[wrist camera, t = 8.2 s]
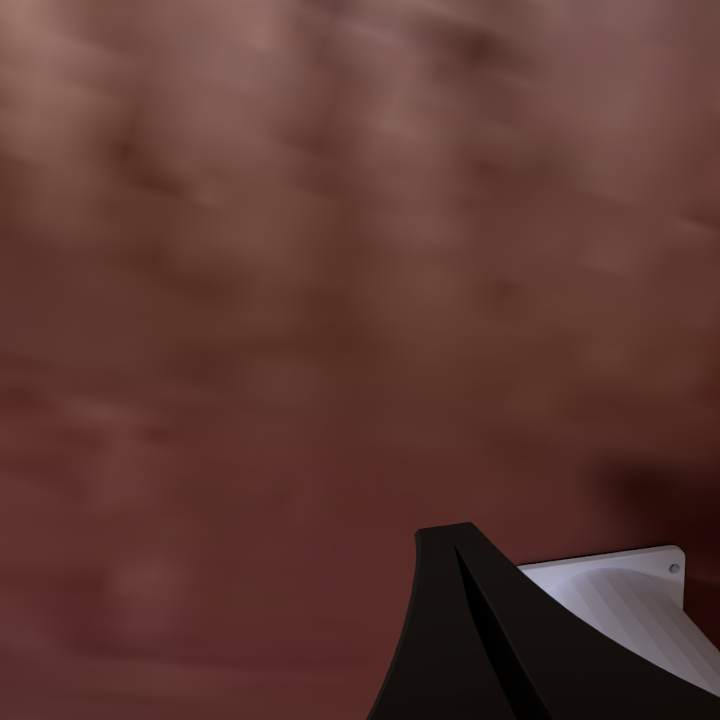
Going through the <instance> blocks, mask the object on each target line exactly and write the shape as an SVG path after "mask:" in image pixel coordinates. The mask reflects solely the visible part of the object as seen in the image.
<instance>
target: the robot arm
mask: <svg viewBox="0 0 720 720" xmlns="http://www.w3.org/2000/svg"><path fill="white" fill-rule="evenodd" d="M414 535H415V544H416V567H415V574H414V580H413V587H412V593H411V598H410V602H409V606H408V610H407V614H406V618H405V622H404V626H403V629H402V633H401V636H400V639H399V642H398V645H397V648H396V651H395V654H394V657H393V660H392V662H391V665H390V667H389V670H388V672H387V675H386V677H385V680H384V682H383V685H382V687H381V690H380V692H379V694H378V696H377V699H376V701H375V703H374V705H373V707H372V709H371V711H370V713H369V715H368V717H367V719H366V720H720V652H719V651H718V649H717V648H716V647H715V646H714V645H713V644H712V643H711V642H710V641H709V639H708V638H707V637H706V636H705V635H704V634H703V633H702V632H701V630H700V629H699V628H698V627H697V626H696V625H695V624H694V623H693V622H692V620H691V619H690V618H689V617H688V616H687V615H686V614H685V613H684V612H683V594H684V574H685V554H684V552H683V551H682V550H681V549H680V548H679V547H677V546H675V545H668V546H660V547H653V548H646V549H639V550H631V551H624V552H617V553H610V554H602V555H595V556H588V557H581V558H573V559H566V560H559V561H552V562H544V563H537V564H530V565H523V566H517V567H516V566H515V565H514V564H513V563H512V562H511V561H510V560H509V559H508V558H507V557H506V556H505V555H504V554H503V553H502V552H501V551H500V550H499V549H497V548H496V547H495V546H494V545H493V544H492V543H491V542H490V541H489V540H488V538H487V537H486V536H485V535H484V534H483V533H482V532H481V531H480V530H479V529H478V528H477V527H476V526H475V525H474V524H473V523H471V522H467V523H459V524H452V525H445V526H438V527H430V528H423V529H418V531H417V532H416V533H415V534H414ZM673 564H674V565H673ZM671 565H673V566H672V567H670V566H671Z"/></svg>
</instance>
